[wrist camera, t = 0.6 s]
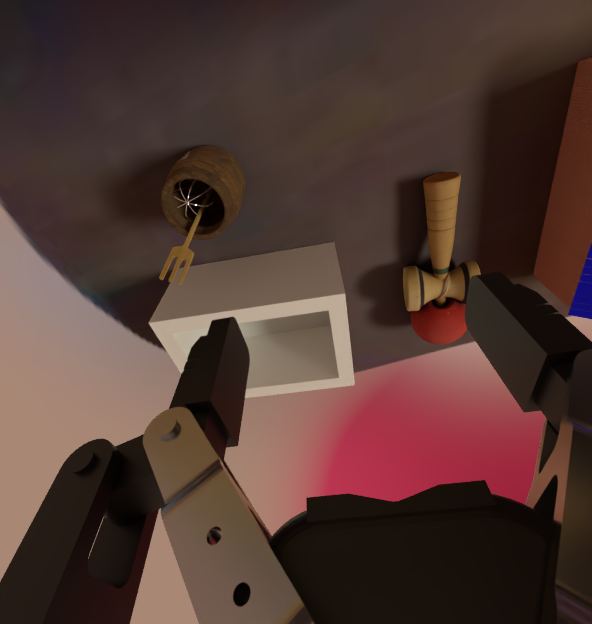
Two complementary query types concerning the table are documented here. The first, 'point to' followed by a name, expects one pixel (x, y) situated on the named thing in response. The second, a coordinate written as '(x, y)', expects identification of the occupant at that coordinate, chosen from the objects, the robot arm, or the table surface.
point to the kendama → (439, 268)
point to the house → (571, 207)
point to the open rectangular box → (267, 317)
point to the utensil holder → (201, 199)
